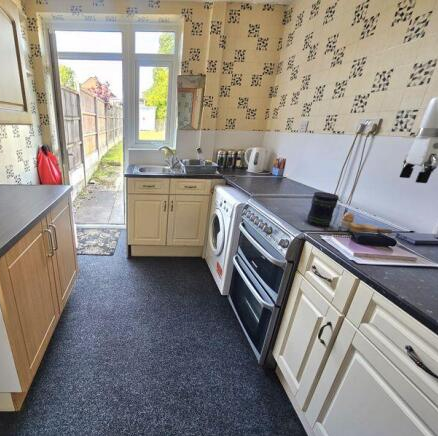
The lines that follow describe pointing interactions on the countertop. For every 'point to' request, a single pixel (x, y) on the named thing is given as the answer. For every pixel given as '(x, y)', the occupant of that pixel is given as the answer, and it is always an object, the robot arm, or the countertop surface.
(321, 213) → the storage jar
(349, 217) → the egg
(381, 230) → the brush
